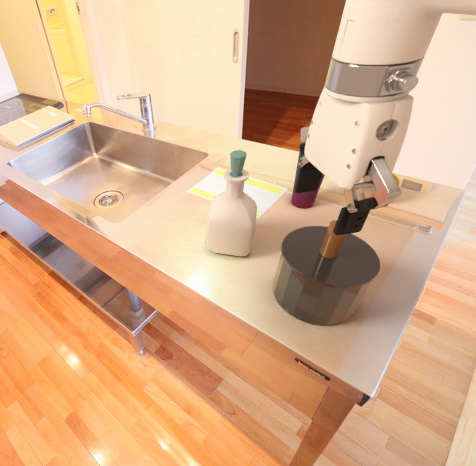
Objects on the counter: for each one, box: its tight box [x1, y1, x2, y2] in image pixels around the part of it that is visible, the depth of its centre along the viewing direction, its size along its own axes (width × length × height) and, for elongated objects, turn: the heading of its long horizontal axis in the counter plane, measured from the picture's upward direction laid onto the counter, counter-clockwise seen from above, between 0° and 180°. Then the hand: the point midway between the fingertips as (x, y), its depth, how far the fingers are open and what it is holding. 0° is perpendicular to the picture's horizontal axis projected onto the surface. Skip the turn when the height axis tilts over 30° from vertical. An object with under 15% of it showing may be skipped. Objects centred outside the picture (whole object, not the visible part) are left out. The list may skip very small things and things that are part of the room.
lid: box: [280, 219, 381, 289], centre depth 51 cm, size 14×14×7 cm
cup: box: [290, 150, 326, 210], centre depth 76 cm, size 7×7×15 cm
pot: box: [272, 252, 371, 327], centre depth 57 cm, size 13×13×10 cm
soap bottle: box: [205, 149, 258, 257], centre depth 66 cm, size 10×10×23 cm
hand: (324, 210), depth 43 cm, fingers open, 9 cm apart
